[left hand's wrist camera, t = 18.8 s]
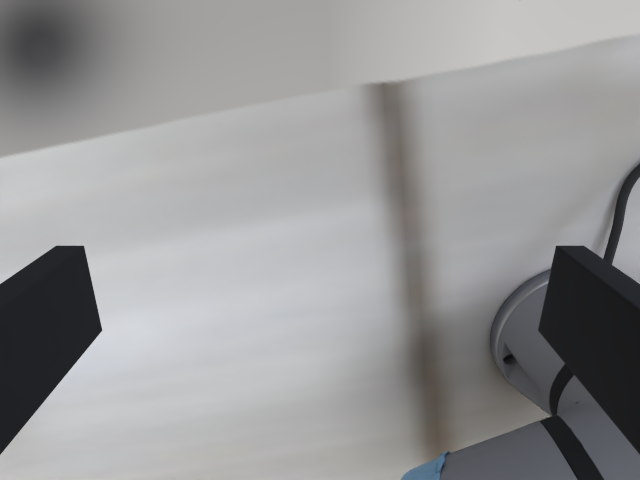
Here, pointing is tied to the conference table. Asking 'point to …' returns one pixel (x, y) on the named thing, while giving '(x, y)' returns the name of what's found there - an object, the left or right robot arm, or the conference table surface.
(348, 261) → the conference table surface
